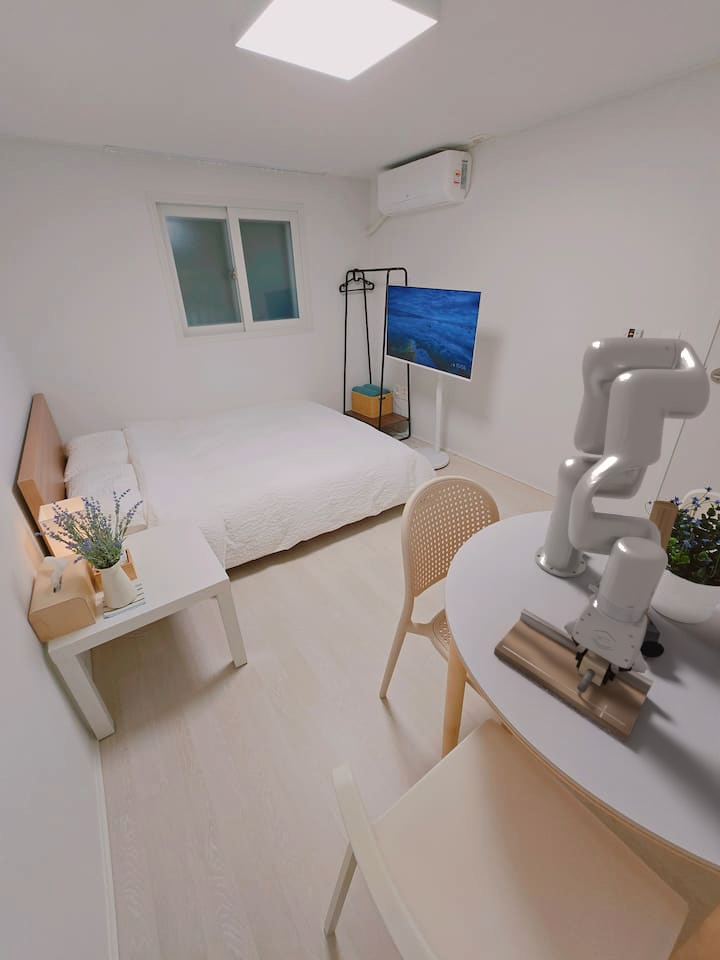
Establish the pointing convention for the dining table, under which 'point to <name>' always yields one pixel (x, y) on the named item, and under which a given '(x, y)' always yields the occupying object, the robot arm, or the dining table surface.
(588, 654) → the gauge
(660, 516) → the hammer
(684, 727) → the dining table surface
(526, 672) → the board
